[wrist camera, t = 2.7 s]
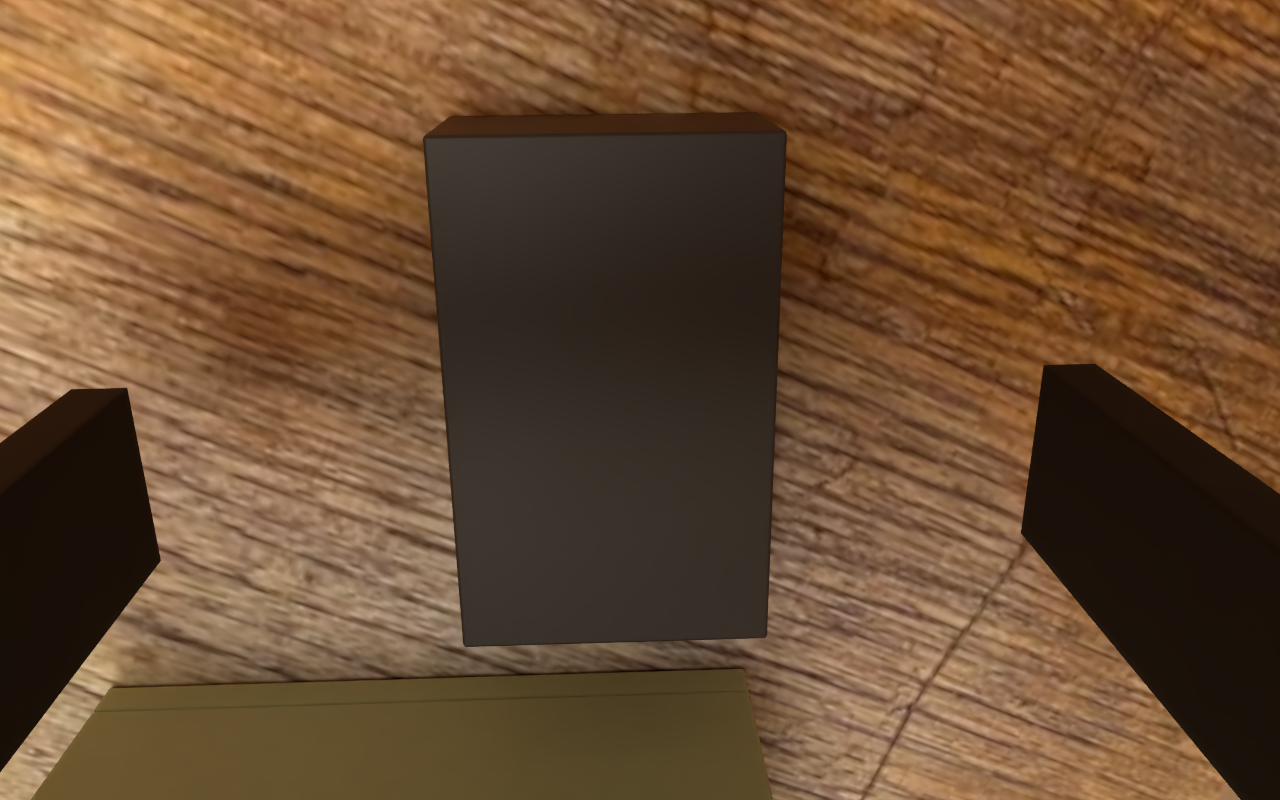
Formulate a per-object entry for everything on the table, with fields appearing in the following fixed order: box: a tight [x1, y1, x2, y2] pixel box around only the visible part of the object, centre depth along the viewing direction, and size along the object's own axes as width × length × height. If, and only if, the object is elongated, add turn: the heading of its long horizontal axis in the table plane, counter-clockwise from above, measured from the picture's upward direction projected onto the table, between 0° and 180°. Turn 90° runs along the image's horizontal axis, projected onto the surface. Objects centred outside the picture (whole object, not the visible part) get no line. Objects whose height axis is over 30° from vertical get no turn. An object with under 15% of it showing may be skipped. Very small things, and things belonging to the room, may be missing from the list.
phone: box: [423, 112, 787, 647], centre depth 19 cm, size 6×9×3 cm, turn 1°
